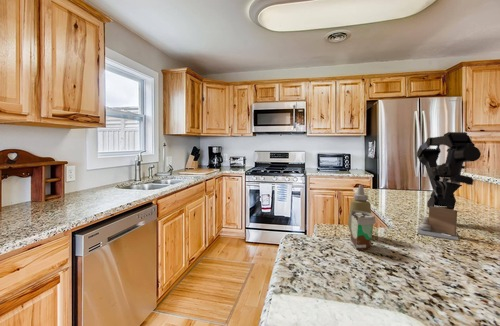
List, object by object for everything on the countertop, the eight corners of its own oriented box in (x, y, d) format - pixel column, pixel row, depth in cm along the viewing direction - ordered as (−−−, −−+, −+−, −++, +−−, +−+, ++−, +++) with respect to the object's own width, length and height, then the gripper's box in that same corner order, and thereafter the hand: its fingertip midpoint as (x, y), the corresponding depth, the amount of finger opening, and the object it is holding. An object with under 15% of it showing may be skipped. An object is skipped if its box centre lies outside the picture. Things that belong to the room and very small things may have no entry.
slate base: (419, 226, 108) (419, 225, 108) (455, 232, 101) (456, 230, 101) (417, 234, 97) (417, 232, 97) (458, 240, 90) (458, 239, 90)
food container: (379, 253, 75) (381, 219, 75) (357, 251, 76) (358, 217, 76) (369, 240, 87) (370, 211, 87) (349, 239, 88) (350, 209, 88)
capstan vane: (422, 227, 104) (423, 204, 104) (457, 234, 95) (458, 210, 95) (417, 228, 102) (418, 205, 102) (452, 236, 93) (453, 211, 92)
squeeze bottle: (371, 233, 96) (373, 184, 95) (371, 239, 88) (373, 186, 88) (348, 230, 99) (349, 183, 99) (346, 235, 92) (348, 185, 91)
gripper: (421, 158, 117) (413, 192, 117) (446, 156, 99) (436, 196, 99) (448, 164, 115) (440, 198, 115) (478, 163, 97) (468, 204, 97)
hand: (445, 199), depth 107 cm, fingers closed
